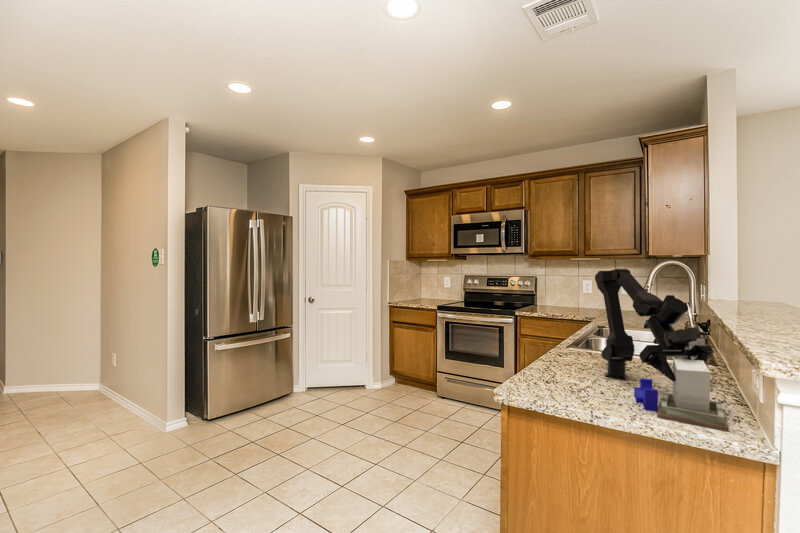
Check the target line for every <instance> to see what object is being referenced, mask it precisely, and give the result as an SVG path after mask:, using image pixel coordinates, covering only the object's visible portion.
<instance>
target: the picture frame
mask: <svg viewBox="0 0 800 533" xmlns="http://www.w3.org/2000/svg"><path fill="white" fill-rule="evenodd" d="M658 403H659V404H658V412H657V414H656V418H659V419H664V420H669V421H673V422H677V423H678V422H679V423H683V424H688V425H694V426H699V427H703V428H709V429H712V430H713V429H714V430H717V431H719V430H720V431H723V432H729V430H730V427H729V423H728V417H727V414H726V410H725V408H724V407H723V405H722V404H723V403H722V402H721V401H714V400H710V403H709V414H708V413H703V412H697V411H692V410H687V409H681V408H676V406H675V403H674V400H673V393H667V392H663V395H662V398H661V397H660V399H659V402H658Z"/></svg>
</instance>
